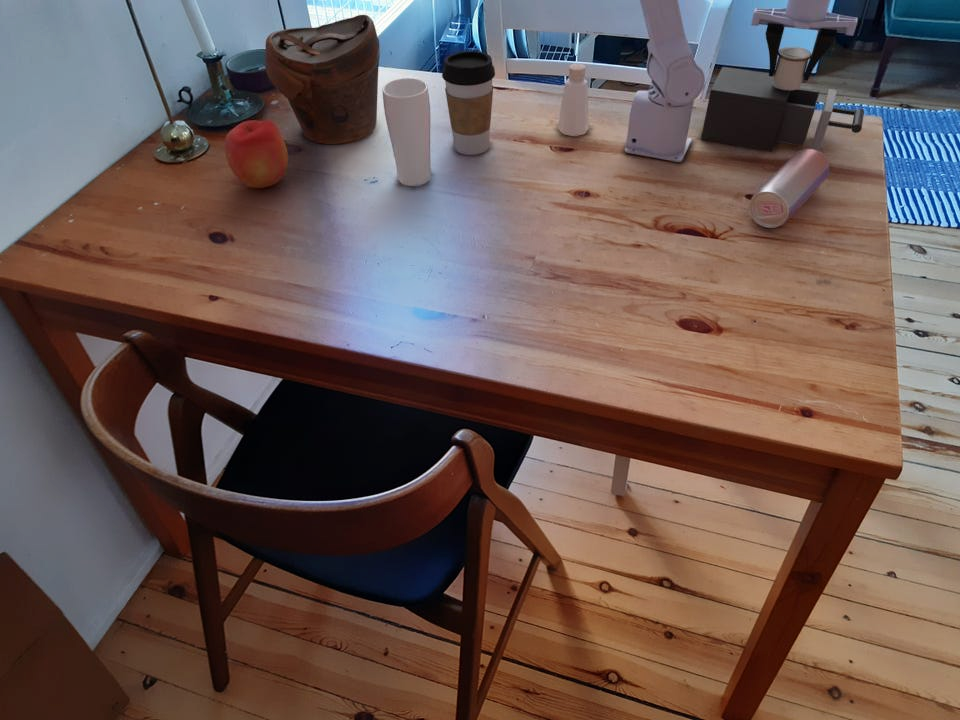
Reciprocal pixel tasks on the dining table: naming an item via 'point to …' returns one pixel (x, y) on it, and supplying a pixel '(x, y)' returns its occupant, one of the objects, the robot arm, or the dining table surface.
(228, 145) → the apple
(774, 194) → the beverage can
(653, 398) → the dining table surface
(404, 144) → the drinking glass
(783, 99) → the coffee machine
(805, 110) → the drawer
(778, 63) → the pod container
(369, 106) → the case
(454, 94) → the coffee cup
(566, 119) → the pepper shaker
